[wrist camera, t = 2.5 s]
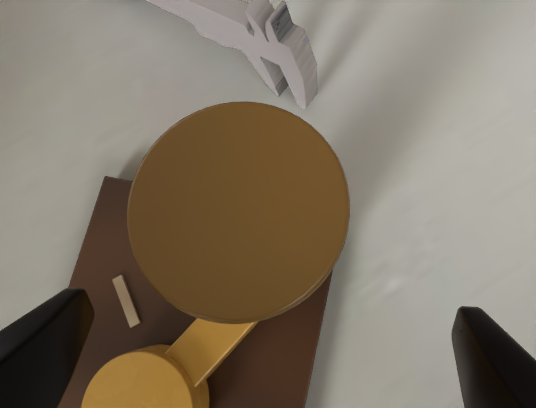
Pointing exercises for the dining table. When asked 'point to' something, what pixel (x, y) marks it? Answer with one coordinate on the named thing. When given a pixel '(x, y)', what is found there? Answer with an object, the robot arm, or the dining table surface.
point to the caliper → (256, 39)
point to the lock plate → (183, 321)
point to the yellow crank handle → (225, 241)
